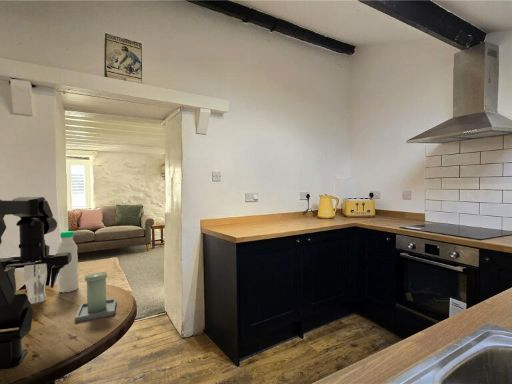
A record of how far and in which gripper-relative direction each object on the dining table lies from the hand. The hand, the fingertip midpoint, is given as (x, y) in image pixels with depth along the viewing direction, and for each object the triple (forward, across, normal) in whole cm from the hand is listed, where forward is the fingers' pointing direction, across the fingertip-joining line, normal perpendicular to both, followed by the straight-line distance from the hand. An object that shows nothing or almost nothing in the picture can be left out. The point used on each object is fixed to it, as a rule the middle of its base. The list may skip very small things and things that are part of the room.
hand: (33, 290), depth 83 cm
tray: (+13, -16, -8) cm, 22 cm away
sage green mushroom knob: (+12, -16, -8) cm, 21 cm away
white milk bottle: (+13, -2, -36) cm, 38 cm away
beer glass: (+13, +7, -28) cm, 32 cm away
